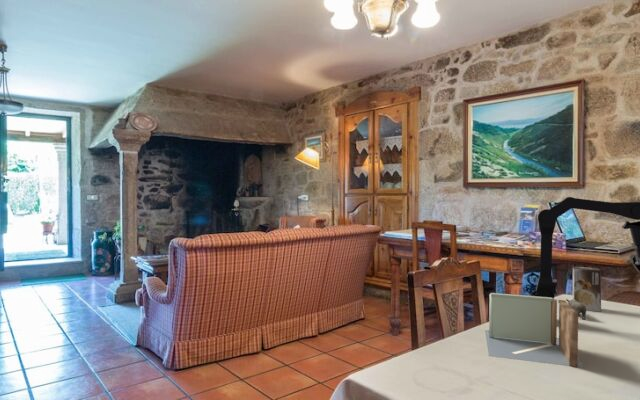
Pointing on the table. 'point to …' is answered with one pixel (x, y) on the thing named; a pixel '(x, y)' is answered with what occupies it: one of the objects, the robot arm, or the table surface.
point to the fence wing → (523, 317)
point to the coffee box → (587, 287)
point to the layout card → (526, 350)
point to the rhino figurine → (578, 307)
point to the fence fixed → (568, 332)
